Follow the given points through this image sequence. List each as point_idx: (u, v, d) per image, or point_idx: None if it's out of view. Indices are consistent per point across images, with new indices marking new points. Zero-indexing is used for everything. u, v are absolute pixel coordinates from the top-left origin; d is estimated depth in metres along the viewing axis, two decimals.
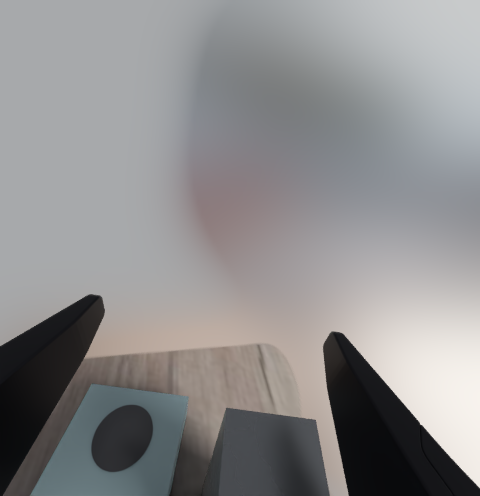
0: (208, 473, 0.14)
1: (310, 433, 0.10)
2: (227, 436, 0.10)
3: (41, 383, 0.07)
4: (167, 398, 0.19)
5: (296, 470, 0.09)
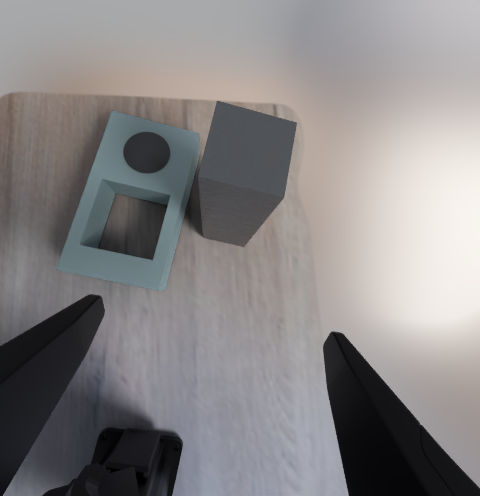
0: None
1: (288, 130, 0.12)
2: (215, 120, 0.11)
3: (41, 383, 0.07)
4: (180, 132, 0.21)
5: (268, 149, 0.11)
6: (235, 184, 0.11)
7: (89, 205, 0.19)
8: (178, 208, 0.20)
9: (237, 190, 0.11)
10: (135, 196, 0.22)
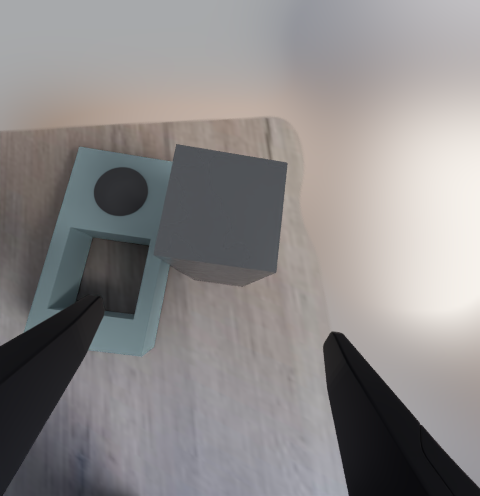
0: None
1: (277, 175, 0.09)
2: (175, 171, 0.08)
3: (41, 383, 0.07)
4: (158, 163, 0.18)
5: (250, 204, 0.08)
6: (206, 261, 0.08)
7: (57, 260, 0.17)
8: None
9: (211, 265, 0.08)
10: (114, 239, 0.20)
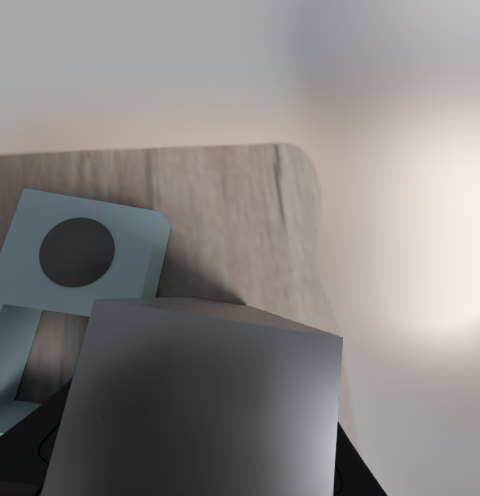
0: None
1: (320, 370, 0.04)
2: (85, 372, 0.04)
3: None
4: (131, 212, 0.14)
5: (259, 455, 0.04)
6: None
7: None
8: None
9: None
10: None
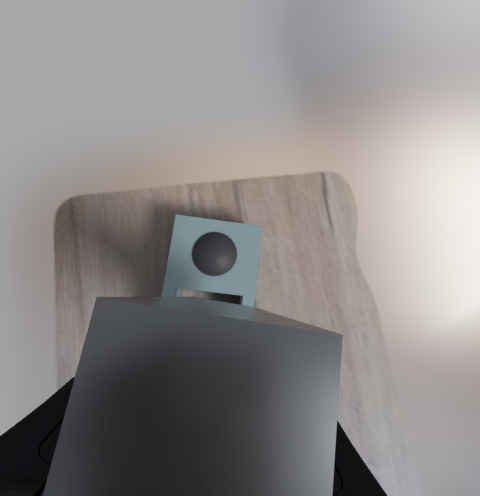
0: None
1: (320, 368, 0.04)
2: (88, 368, 0.04)
3: None
4: (243, 227, 0.21)
5: (260, 450, 0.04)
6: None
7: None
8: None
9: None
10: None
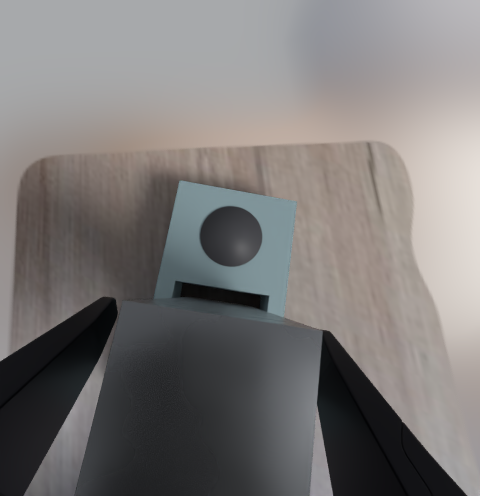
0: None
1: (304, 357, 0.05)
2: (117, 357, 0.04)
3: (59, 385, 0.07)
4: (271, 202, 0.16)
5: (254, 423, 0.04)
6: None
7: None
8: (281, 314, 0.14)
9: None
10: None
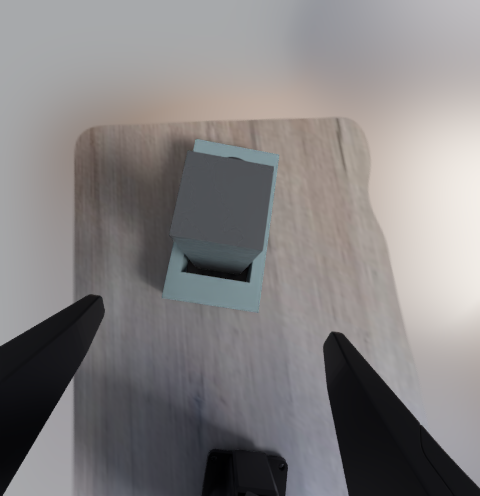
0: None
1: (265, 176, 0.11)
2: (186, 171, 0.11)
3: (41, 383, 0.07)
4: (261, 154, 0.22)
5: (244, 198, 0.11)
6: (209, 240, 0.10)
7: None
8: (267, 229, 0.20)
9: (213, 244, 0.11)
10: None
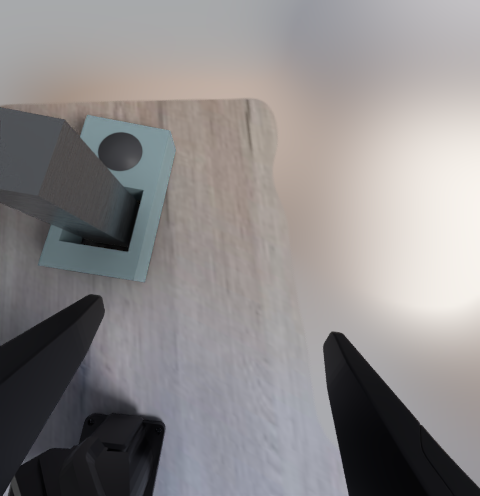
0: None
1: (53, 128, 0.12)
2: None
3: (41, 383, 0.07)
4: (151, 130, 0.22)
5: (28, 148, 0.11)
6: None
7: None
8: (150, 202, 0.21)
9: None
10: None
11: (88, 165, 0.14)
